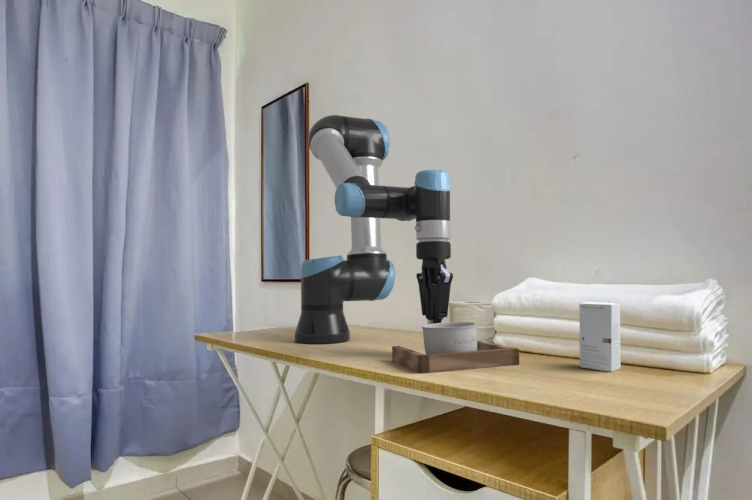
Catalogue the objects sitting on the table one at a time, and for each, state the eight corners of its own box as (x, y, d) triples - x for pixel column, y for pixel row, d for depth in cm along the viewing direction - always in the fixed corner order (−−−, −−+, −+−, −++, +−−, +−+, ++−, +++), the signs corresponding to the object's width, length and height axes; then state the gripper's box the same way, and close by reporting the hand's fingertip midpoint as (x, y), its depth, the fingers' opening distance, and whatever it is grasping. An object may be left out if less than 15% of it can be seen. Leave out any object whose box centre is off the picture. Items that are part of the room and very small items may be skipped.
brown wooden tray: (392, 361, 101) (392, 346, 101) (479, 354, 108) (479, 340, 108) (422, 373, 88) (421, 356, 88) (519, 364, 95) (518, 348, 95)
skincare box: (579, 368, 91) (576, 302, 91) (589, 364, 94) (587, 301, 94) (613, 372, 86) (610, 303, 87) (623, 369, 89) (620, 302, 90)
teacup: (462, 370, 90) (461, 326, 90) (412, 365, 96) (411, 324, 96) (492, 359, 101) (491, 320, 101) (445, 355, 107) (445, 318, 108)
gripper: (405, 242, 111) (406, 346, 110) (431, 238, 99) (433, 355, 98) (434, 243, 114) (436, 344, 113) (463, 239, 102) (465, 353, 101)
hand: (435, 349), depth 106 cm, fingers closed
